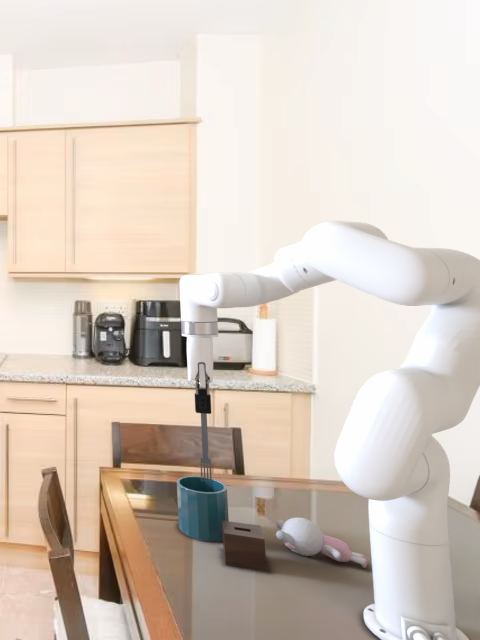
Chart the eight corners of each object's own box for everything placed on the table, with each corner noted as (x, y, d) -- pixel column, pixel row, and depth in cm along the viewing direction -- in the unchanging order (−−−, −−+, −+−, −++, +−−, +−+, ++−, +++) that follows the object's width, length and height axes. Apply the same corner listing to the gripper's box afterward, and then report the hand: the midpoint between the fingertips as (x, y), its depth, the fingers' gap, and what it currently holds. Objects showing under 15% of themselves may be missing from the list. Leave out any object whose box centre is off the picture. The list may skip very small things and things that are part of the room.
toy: (351, 572, 103) (270, 529, 110) (365, 542, 102) (282, 500, 109) (359, 594, 96) (271, 546, 103) (374, 562, 95) (284, 515, 102)
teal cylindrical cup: (231, 544, 107) (228, 496, 108) (178, 536, 111) (176, 489, 112) (227, 524, 117) (225, 479, 117) (179, 517, 121) (177, 473, 121)
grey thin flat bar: (211, 482, 112) (208, 408, 113) (201, 481, 113) (198, 407, 114) (211, 481, 113) (208, 407, 113) (201, 480, 113) (198, 407, 114)
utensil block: (266, 571, 97) (264, 539, 97) (225, 564, 100) (223, 533, 100) (262, 556, 103) (260, 525, 103) (223, 550, 105) (221, 520, 106)
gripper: (181, 326, 123) (185, 404, 122) (181, 332, 109) (185, 419, 108) (216, 327, 120) (219, 406, 119) (220, 332, 106) (224, 422, 105)
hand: (203, 412), depth 114 cm, fingers closed
